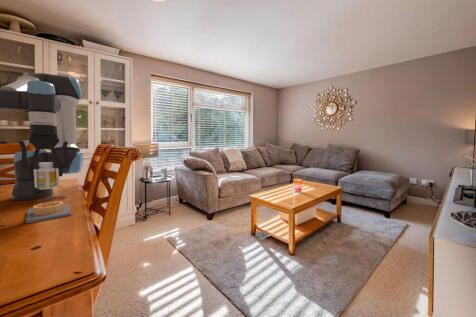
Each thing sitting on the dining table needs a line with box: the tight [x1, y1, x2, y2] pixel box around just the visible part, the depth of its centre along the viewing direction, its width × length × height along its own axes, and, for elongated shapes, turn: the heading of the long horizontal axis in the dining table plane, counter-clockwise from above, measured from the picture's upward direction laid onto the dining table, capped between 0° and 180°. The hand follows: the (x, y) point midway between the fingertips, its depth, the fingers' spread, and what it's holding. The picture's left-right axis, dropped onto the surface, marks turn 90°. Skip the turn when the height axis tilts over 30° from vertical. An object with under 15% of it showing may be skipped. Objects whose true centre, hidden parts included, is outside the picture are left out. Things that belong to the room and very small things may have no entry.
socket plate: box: [25, 201, 72, 224], centre depth 81 cm, size 16×12×4 cm
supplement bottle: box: [37, 162, 58, 189], centre depth 80 cm, size 5×5×10 cm
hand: (47, 186), depth 80 cm, fingers closed on supplement bottle, 5 cm apart
